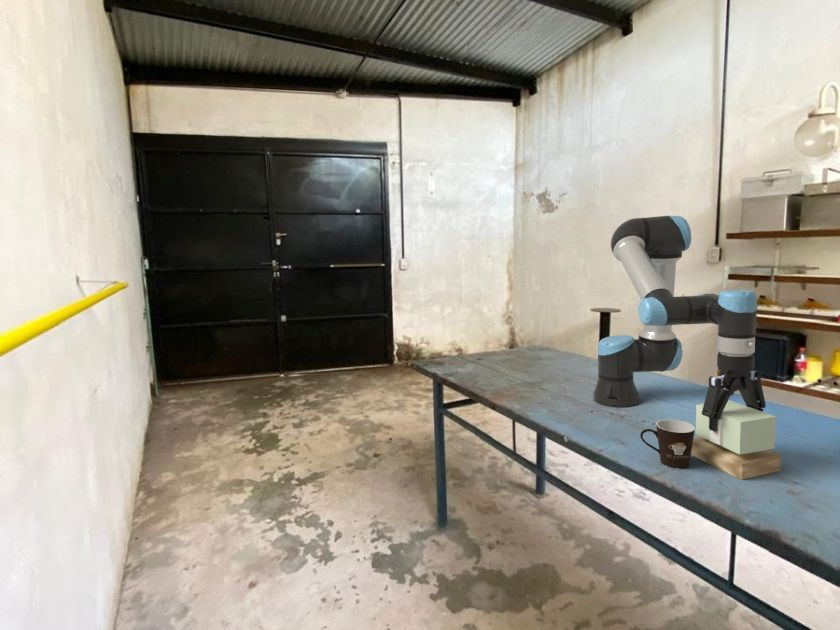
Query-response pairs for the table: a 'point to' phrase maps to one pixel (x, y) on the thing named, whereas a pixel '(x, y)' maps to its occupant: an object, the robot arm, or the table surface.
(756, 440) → the sage brick
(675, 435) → the coffee mug
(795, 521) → the table surface
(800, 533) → the table surface
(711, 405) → the robot arm
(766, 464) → the oak block
